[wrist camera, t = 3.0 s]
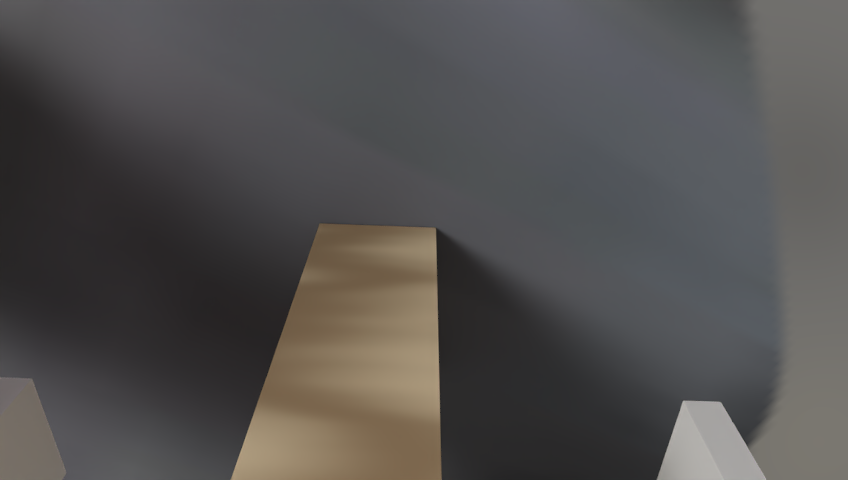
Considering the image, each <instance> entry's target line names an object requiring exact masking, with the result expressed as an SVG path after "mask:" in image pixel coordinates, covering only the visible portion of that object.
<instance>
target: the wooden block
mask: <svg viewBox="0 0 848 480" xmlns="http://www.w3.org/2000/svg"><path fill="white" fill-rule="evenodd" d="M231 480H441V435H440V390H439V344H438V299H437V253H436V228H429V227H402V226H376V225H349V224H322V223H320V224H319V227H318V230H317V233H316V236H315V238H314V241H313V244H312V247H311V250H310V253H309V256H308V259H307V262H306V264H305V267H304V270H303V273H302V276H301V279H300V282H299V285H298V288H297V290H296V293H295V296H294V299H293V302H292V305H291V308H290V311H289V313H288V316H287V319H286V322H285V325H284V328H283V331H282V334H281V337H280V339H279V342H278V345H277V348H276V351H275V354H274V357H273V360H272V363H271V365H270V368H269V371H268V374H267V377H266V380H265V383H264V386H263V388H262V391H261V394H260V397H259V400H258V403H257V406H256V409H255V412H254V414H253V417H252V420H251V423H250V426H249V429H248V432H247V435H246V438H245V440H244V443H243V446H242V449H241V452H240V455H239V458H238V461H237V463H236V466H235V469H234V472H233V475H232V478H231Z"/></svg>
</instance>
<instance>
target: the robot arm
mask: <svg viewBox="0 0 848 480" xmlns="http://www.w3.org/2000/svg"><path fill="white" fill-rule="evenodd" d="M65 474H66V470H65V467H64V465H63V462H62V459H61V456H60V454H59V451H58V448H57V446H56V443H55V440H54V437H53V435H52V432H51V429H50V426H49V424H48V421H47V418H46V416H45V413H44V410H43V407H42V405H41V402H40V399H39V397H38V394H37V391H36V388H35V386H34V383H33V380H32V379H31V378H1V377H0V480H62V479H63V478H64V476H65ZM657 480H767V479H766V478H765V476H764V474H763V472H762V471H761V469H760V468H759V466H758V464H757V462H756V461H755V459H754V457H753V456H752V454H751V452H750V451H749V449H748V447H747V445H746V444H745V442H744V440H743V439H742V437H741V435H740V434H739V432H738V430H737V429H736V427H735V425H734V423H733V422H732V420H731V418H730V417H729V415H728V413H727V412H726V410H725V408H724V407H723V405H722V403H721V402H709V401H683V403H682V406H681V409H680V412H679V415H678V418H677V421H676V424H675V427H674V430H673V433H672V436H671V439H670V442H669V445H668V448H667V451H666V454H665V457H664V460H663V463H662V466H661V469H660V472H659V475H658V478H657Z"/></svg>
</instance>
